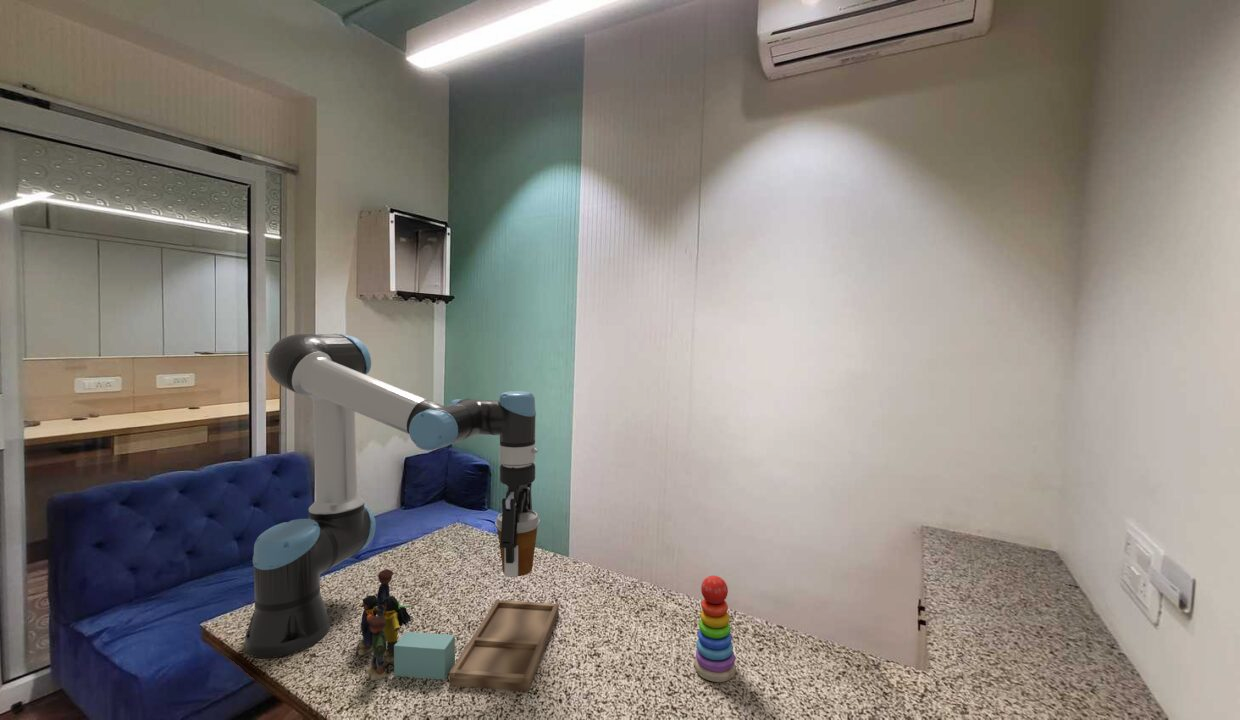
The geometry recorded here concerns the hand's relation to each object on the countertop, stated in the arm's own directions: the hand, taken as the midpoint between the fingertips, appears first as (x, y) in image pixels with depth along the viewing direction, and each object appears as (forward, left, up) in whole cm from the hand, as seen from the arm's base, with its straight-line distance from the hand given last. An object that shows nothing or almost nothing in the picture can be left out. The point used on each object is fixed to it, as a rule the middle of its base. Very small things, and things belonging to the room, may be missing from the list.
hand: (517, 566), depth 108 cm
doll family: (-26, -9, -15) cm, 31 cm away
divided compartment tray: (0, -5, -15) cm, 15 cm away
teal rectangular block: (-14, -14, -15) cm, 25 cm away
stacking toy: (+42, -8, -15) cm, 45 cm away
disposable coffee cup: (0, 0, -1) cm, 1 cm away
